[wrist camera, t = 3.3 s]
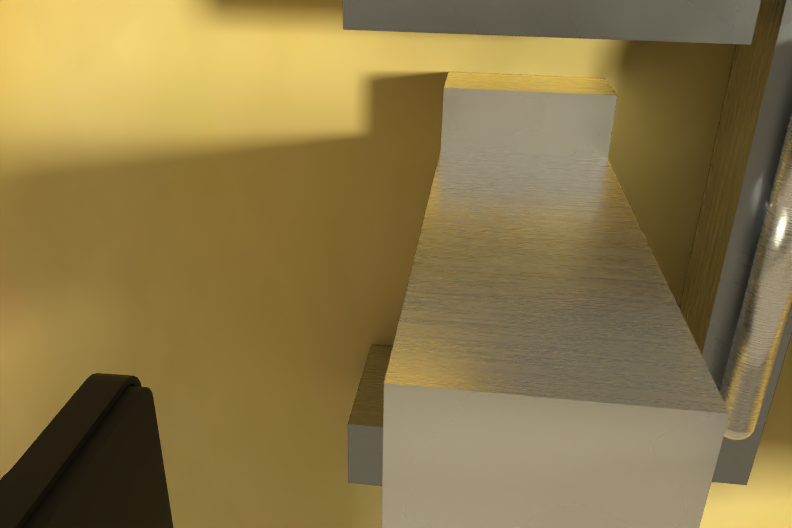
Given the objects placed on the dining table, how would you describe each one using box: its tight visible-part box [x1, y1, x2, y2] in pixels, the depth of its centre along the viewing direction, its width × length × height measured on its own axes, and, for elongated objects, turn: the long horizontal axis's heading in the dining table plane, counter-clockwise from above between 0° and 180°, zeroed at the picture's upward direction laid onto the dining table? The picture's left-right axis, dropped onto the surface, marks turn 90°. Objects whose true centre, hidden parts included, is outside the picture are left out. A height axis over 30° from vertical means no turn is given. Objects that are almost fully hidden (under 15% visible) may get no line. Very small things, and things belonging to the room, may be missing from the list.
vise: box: [343, 0, 792, 486], centre depth 18 cm, size 11×14×4 cm
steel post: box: [382, 72, 729, 528], centre depth 15 cm, size 4×7×12 cm, turn 179°
